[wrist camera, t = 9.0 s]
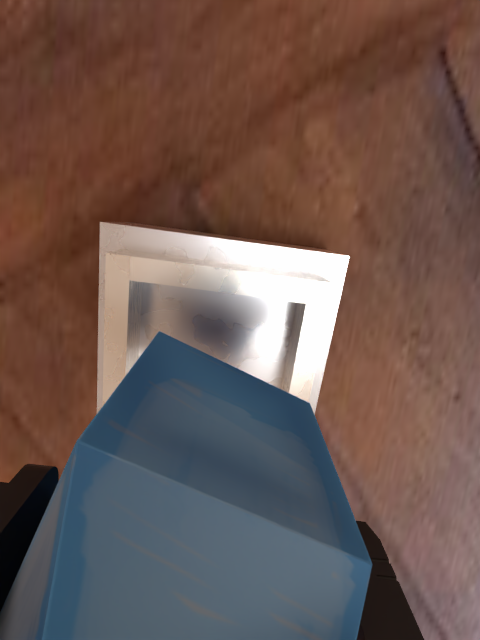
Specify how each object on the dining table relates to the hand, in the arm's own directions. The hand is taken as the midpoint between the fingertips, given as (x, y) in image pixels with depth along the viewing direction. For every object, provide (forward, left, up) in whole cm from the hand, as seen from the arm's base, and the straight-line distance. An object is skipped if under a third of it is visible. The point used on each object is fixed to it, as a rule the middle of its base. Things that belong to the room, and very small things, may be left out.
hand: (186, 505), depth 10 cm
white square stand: (0, 0, -16) cm, 16 cm away
